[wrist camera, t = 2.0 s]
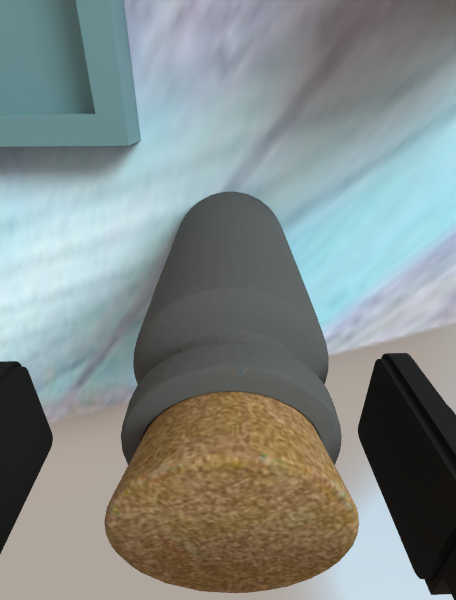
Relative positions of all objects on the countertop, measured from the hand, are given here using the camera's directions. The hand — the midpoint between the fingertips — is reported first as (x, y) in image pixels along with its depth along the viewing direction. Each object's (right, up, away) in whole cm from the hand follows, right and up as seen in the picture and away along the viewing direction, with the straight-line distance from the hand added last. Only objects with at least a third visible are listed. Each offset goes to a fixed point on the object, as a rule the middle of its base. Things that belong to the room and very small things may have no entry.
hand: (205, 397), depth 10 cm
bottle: (+1, +6, +10) cm, 12 cm away
